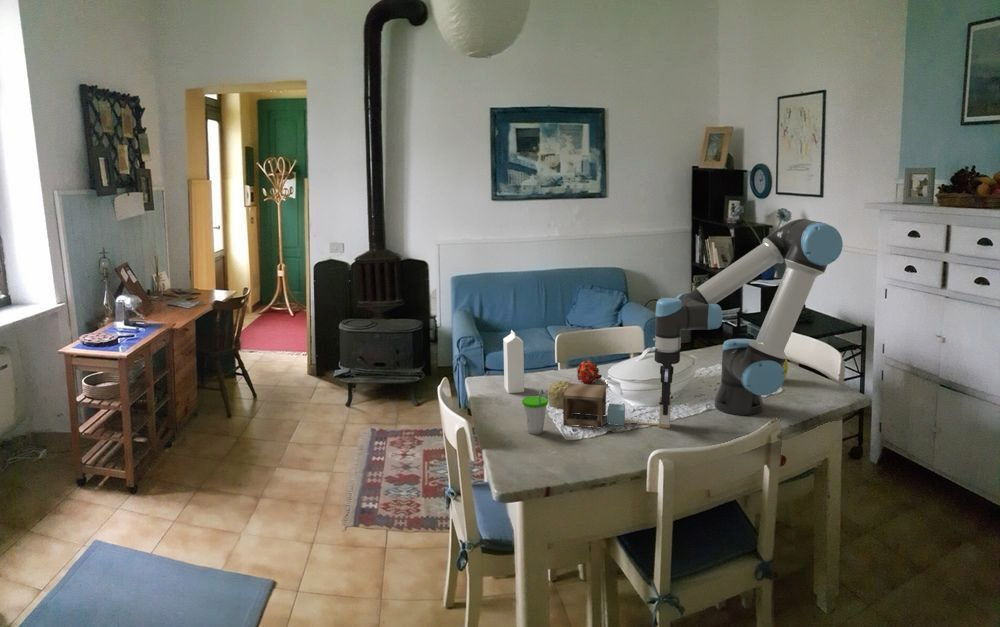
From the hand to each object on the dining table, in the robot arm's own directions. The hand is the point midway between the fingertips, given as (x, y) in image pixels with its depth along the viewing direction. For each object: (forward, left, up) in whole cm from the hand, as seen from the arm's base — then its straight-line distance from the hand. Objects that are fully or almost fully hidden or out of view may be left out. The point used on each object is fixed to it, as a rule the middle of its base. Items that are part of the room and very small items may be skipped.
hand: (665, 421), depth 216 cm
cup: (+39, +13, -2) cm, 41 cm away
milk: (+54, -23, -2) cm, 59 cm away
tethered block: (+8, 0, -1) cm, 8 cm away
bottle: (-36, -50, -2) cm, 62 cm away
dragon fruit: (+29, -37, -2) cm, 47 cm away
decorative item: (+35, -13, -2) cm, 37 cm away
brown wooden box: (+25, 0, -1) cm, 25 cm away
